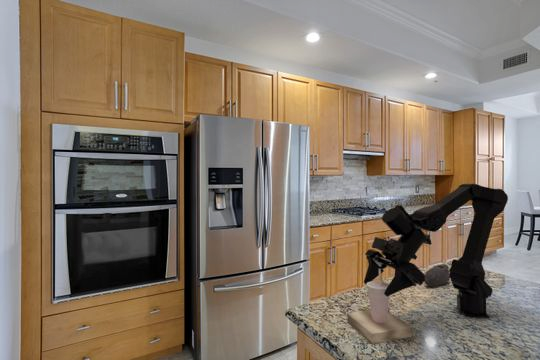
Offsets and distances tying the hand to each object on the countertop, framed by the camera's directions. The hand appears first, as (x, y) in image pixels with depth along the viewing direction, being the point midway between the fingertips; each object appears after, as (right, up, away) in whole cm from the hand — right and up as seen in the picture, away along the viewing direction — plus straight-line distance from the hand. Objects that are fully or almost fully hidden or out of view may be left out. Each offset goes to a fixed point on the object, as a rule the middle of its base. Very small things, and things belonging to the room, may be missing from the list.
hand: (374, 289), depth 78 cm
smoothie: (+1, -9, 0) cm, 9 cm away
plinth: (+1, -11, 0) cm, 11 cm away
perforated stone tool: (+36, -11, +33) cm, 50 cm away
